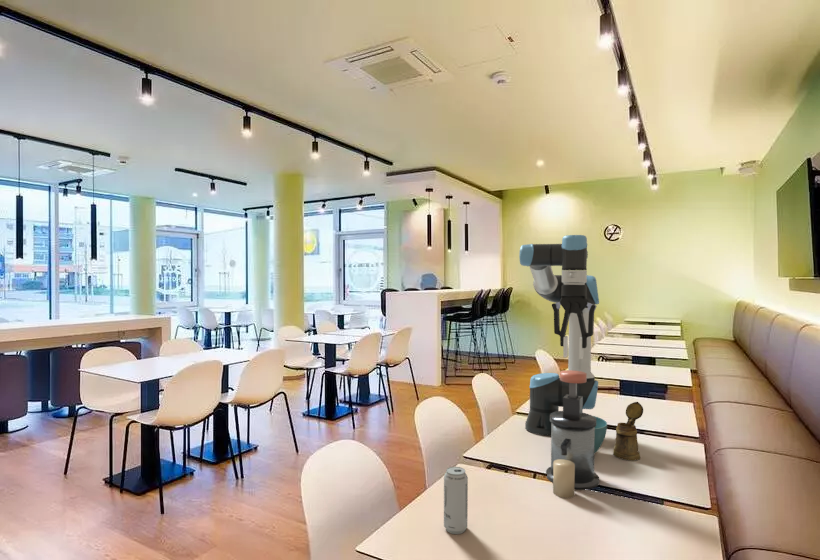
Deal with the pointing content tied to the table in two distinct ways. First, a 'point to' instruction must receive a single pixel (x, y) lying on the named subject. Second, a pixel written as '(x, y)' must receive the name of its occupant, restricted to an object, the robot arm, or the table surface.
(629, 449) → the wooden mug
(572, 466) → the beige rounded cylinder
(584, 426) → the airpot
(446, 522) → the energy drink can
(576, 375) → the pump head
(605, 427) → the teal bowl
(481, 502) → the table surface
